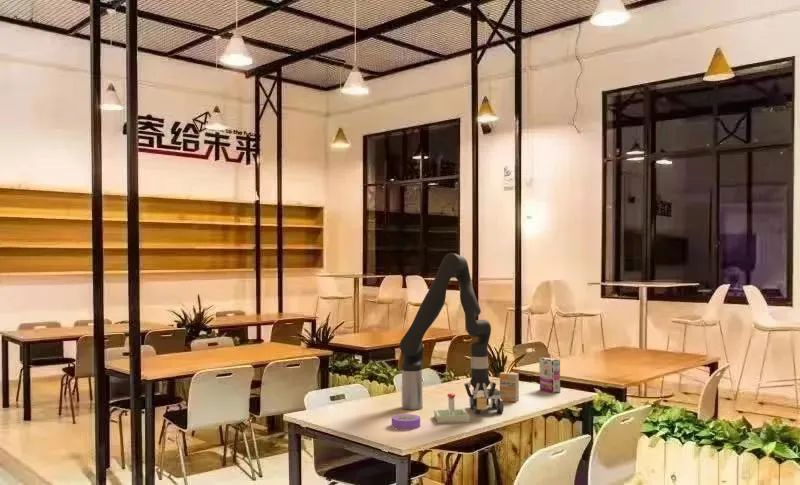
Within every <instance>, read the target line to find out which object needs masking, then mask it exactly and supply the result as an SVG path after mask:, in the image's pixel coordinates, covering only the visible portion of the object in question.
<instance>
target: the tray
mask: <svg viewBox="0 0 800 485" xmlns="http://www.w3.org/2000/svg"><path fill="white" fill-rule="evenodd" d="M433 413H434V414H433V417H434V419H435V421H436V422H437V424H439V425H440V424H465V423H466V424H467V423H468V424H469V423H470V415H469V413H468V412H467V411H466V409H465V408H454V415H449V408H448V409H434V410H433Z"/></svg>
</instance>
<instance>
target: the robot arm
mask: <svg viewBox="0 0 800 485" xmlns="http://www.w3.org/2000/svg"><path fill="white" fill-rule="evenodd" d="M453 276H454V277H455V278H456V281H457V283H458V286H459V301H460V303H461V307H462V309H463V312H464V316H465V317H464V318H465V329H466V332H467V334H468V335H469V336H470V337H472V338H476V337H477V340H476V341H474V342H471V346H470V357H471V358H470V377H471V378H470V380H469V381H470V382H466V383H463V384H464V387H465V390H466V393H467V396H468V398H470V397H471V398H473V406H474V407H477V401H476V396H477V393H478V391H480V390H482V391H483V392H484V395H485V397H486V398H487V407H488V406H489V405H490V402H489V400H490V399H489V397H492V396H493V393H494V390H495V389H496V385H497V384H496V382H494V381H490V375H489V374H490V371H489V366H490V364H489V358H488V357H489V355H488V354H489V352H488V349H489V348H488V345H489V342H490V341H489V340H490V338H491V332H492V327H491V326H492V325H491V324H490V322H489V321H488V320H487V319H477V318H476V317H478V316H479V315H480V314H481V308H480V305H479V302H478V299H477V297H476V294H475V291H474V288H473V283H472V278H471V274H470V269H469V264H468V261H467V259H466V257H464V256H462V255H460V254H458V253H453V252H449V253H447V254H445V256H444V257H443V259H442V261H441V262H440V265H439V268H438V270H437V272H436V275H435V277H434V279H433V281H432V283H431V285H430V287H429V289H428V291H427V292H426V294H425V296H424V298H423V300H422V302H421V303H420V306H419V308H418V310H417V312H416V314H415V317H414V319H413V321H412V323H411V325H410V327H409V328H408V330H407V331H406V333H405V335H404V336H403V337H402V338H401V340H400V343H399V350H400V352H401V353H402V354H403V360H402V362H401V363H402V364H401V408H402V410H409V411H410V410H411V411H413V410H415V411H416V410H421V409H423V406H424V405H423V362H424V343H423V338H424V336H425V334H426V332H427V331H428V329H429V328H430V327H431V326H432V325H433V323H434V322H435V321H436V319H437V318H438V316H439V314H440V313H441V311H442V310H443V307H444V305H445V303H446V300H447V299H446V297H447V288H448V285H449V282H450V281H451V279H452V277H453ZM476 319H477V320H476ZM471 386H472V388H473V389H472V390H473V394H472V391H471V389H470V388H471ZM489 386H490V388H489V389H490V392H489V394H488V392H487V389H488V387H489ZM476 390H477V391H476Z"/></svg>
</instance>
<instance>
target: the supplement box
mask: <svg viewBox="0 0 800 485" xmlns="http://www.w3.org/2000/svg"><path fill="white" fill-rule="evenodd" d="M519 374H520V373H517V372H515V373H514V372H503V371H502V372H500V373H499V391H500V395H501V399H502V400H503V402H510V403H518V402H519V400H520V395H519V394H520V389H519V388H520V387H519V386H520V384H519V382H520V380H519V377H520V376H519Z"/></svg>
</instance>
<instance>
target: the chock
mask: <svg viewBox="0 0 800 485" xmlns="http://www.w3.org/2000/svg"><path fill="white" fill-rule="evenodd" d="M476 401H477V407H476V408H477V409H478V410H480V409H481V410H488V406H487V398H486V397H485V396H476Z"/></svg>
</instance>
